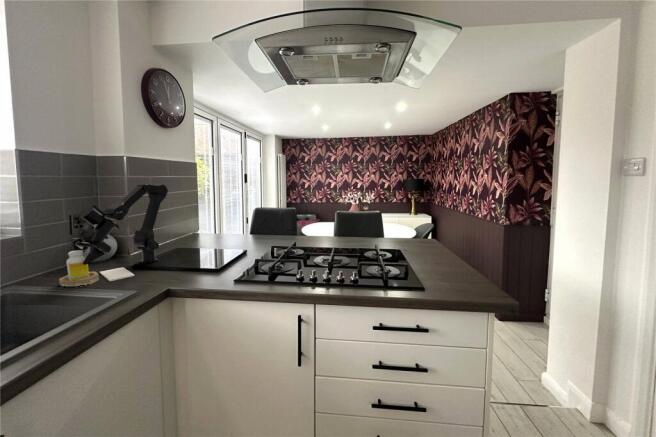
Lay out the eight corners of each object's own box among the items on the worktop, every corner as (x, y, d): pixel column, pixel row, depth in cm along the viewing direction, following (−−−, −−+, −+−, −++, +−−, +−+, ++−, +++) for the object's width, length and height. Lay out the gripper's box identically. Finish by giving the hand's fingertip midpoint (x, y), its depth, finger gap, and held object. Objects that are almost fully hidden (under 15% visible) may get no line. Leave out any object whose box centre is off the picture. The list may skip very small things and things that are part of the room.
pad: (100, 273, 143) (99, 271, 143) (123, 268, 149) (123, 267, 149) (109, 281, 132) (109, 280, 132) (134, 275, 138) (134, 274, 138)
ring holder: (58, 282, 131) (57, 276, 131) (94, 275, 140) (93, 269, 139) (63, 290, 123) (62, 283, 122) (101, 281, 131) (100, 276, 131)
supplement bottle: (93, 281, 132) (89, 250, 130) (73, 286, 127) (69, 254, 125) (85, 278, 136) (81, 248, 134) (66, 283, 130) (62, 252, 128)
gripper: (70, 219, 136) (43, 250, 127) (100, 221, 129) (74, 255, 120) (92, 234, 144) (68, 264, 135) (121, 236, 137) (98, 269, 129)
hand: (76, 263), depth 130 cm, fingers open, 9 cm apart
